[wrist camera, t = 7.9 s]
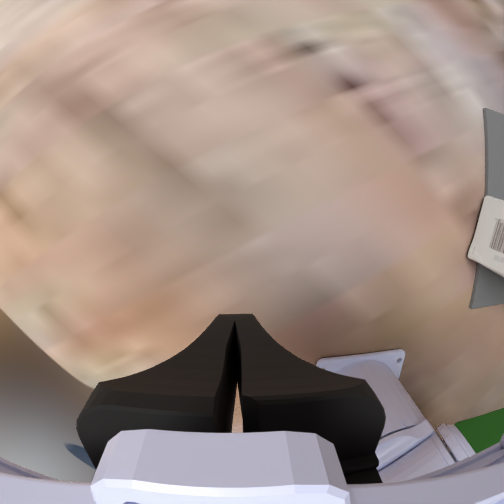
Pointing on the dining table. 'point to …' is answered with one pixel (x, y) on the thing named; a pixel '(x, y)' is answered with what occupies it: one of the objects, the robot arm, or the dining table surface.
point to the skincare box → (489, 236)
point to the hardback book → (483, 430)
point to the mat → (498, 186)
